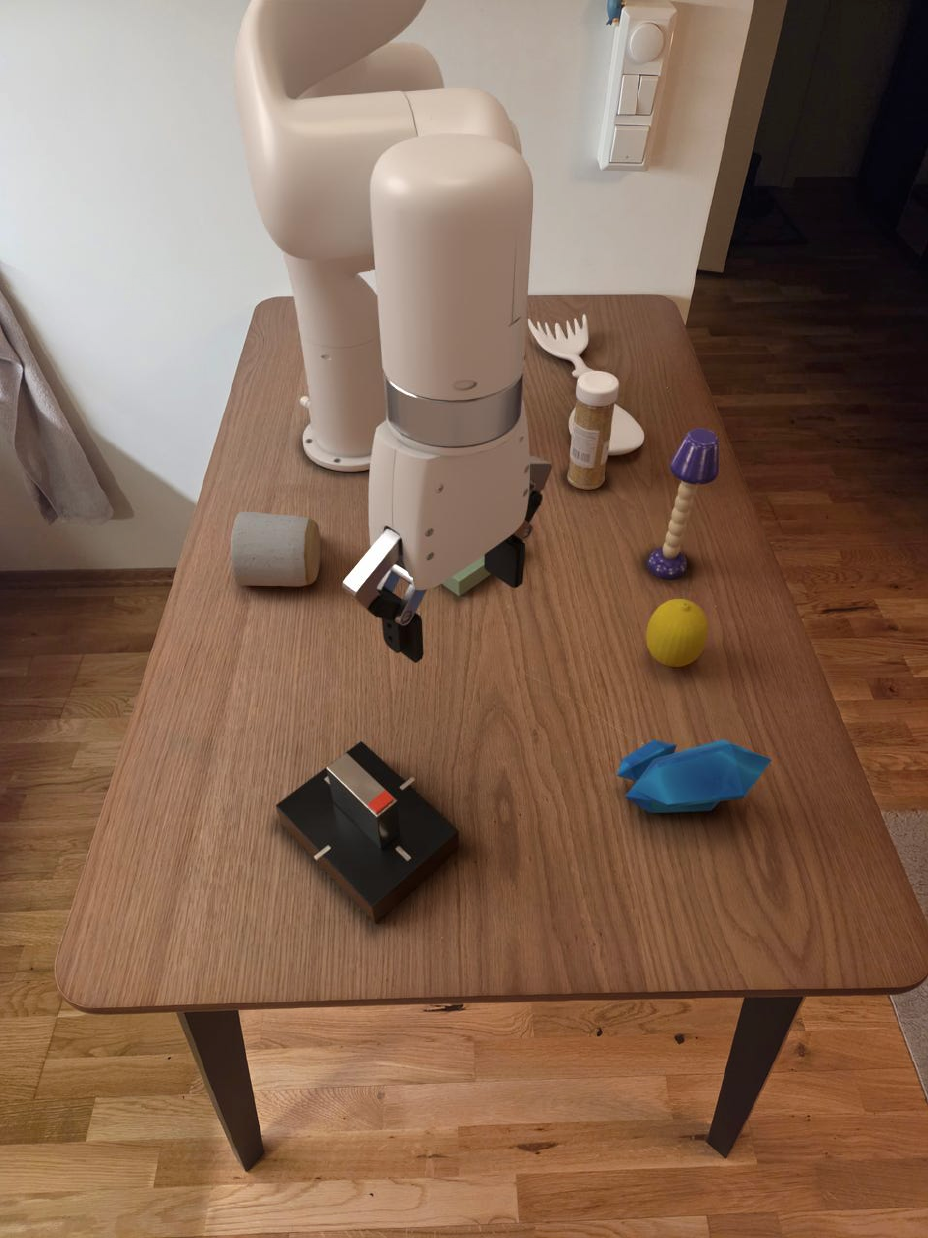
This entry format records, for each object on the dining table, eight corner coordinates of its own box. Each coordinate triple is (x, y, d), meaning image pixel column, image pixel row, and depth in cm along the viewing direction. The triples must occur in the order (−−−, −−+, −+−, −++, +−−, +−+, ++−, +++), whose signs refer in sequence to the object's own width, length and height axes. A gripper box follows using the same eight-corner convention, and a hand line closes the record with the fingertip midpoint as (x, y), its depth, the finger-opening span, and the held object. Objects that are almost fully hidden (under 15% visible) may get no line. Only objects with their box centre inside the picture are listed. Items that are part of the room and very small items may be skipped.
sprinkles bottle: (612, 483, 102) (628, 383, 92) (582, 496, 101) (595, 396, 91) (587, 463, 105) (601, 364, 95) (558, 476, 103) (568, 376, 93)
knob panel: (274, 828, 71) (268, 808, 69) (369, 755, 76) (366, 735, 74) (369, 930, 65) (365, 912, 63) (464, 844, 70) (464, 824, 68)
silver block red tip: (332, 801, 69) (325, 765, 65) (352, 786, 70) (345, 750, 66) (381, 850, 66) (376, 815, 63) (400, 833, 67) (397, 798, 63)
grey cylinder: (317, 601, 89) (308, 544, 83) (237, 600, 89) (223, 544, 83) (328, 534, 96) (320, 478, 90) (255, 533, 96) (242, 477, 90)
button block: (389, 545, 95) (387, 517, 92) (448, 508, 99) (447, 481, 96) (459, 596, 89) (459, 569, 86) (518, 555, 94) (520, 527, 91)
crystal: (605, 724, 70) (752, 692, 69) (615, 778, 76) (750, 750, 75) (625, 804, 65) (785, 771, 64) (634, 855, 71) (780, 826, 70)
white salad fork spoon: (584, 332, 126) (586, 310, 124) (652, 463, 105) (656, 439, 102) (524, 337, 125) (525, 315, 123) (580, 470, 104) (583, 447, 101)
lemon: (663, 691, 81) (679, 634, 75) (629, 651, 84) (641, 594, 78) (709, 670, 83) (728, 613, 77) (674, 632, 86) (690, 575, 80)
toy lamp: (659, 545, 95) (689, 416, 83) (698, 562, 93) (735, 432, 81) (639, 569, 92) (667, 440, 80) (679, 587, 90) (714, 457, 78)
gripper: (509, 316, 53) (500, 529, 65) (284, 431, 44) (323, 650, 57) (605, 360, 49) (577, 576, 62) (381, 494, 41) (400, 714, 53)
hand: (455, 612), depth 59 cm, fingers open, 9 cm apart
